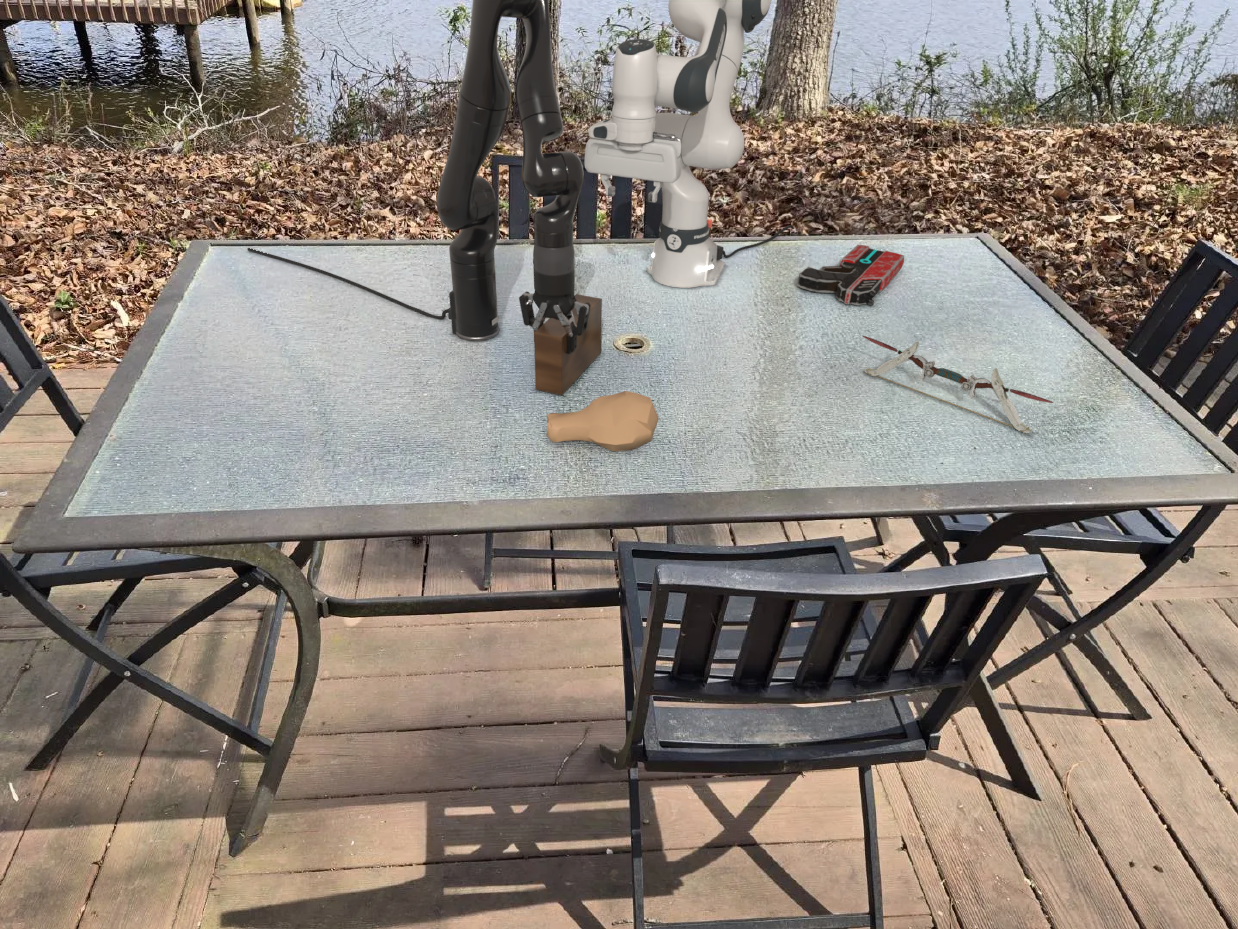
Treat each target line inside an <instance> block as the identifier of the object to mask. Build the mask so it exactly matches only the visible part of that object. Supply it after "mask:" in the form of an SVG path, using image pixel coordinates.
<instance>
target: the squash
mask: <svg viewBox="0 0 1238 929" xmlns="http://www.w3.org/2000/svg"><path fill="white" fill-rule="evenodd" d="M546 416H547V417H546V419H547V429H546V434H545V435H546V436H547V438H548V439H549V441H550V442H551V443H561V442H568V441H584V442H588V443H589V442H590V443H594V444H596V445H598V446H599V447H601V448H604V449H607V450H609V451H611V452H627V451H633V450H636V449H638V448H640V447H642V446H644V445H647V444H648V443H650V442H652V441H653V438H654V437H653V436H654V435H655V434H654V433H655V432H656V428H657V426H658V422H659V420H660V418H659V416H658V413H657V410H656V408H655V405H654V402H653V401H652V399H651V397H649V396H646V395H643V394H641V393H637V392H635V391H629V390H624V391H621V392H618V393H614V394H609V395H608V394H607V395H603V396H602V395H601V396H598V397H597V398H595V399H594V400H592V401H591V402H590V403H589V404H588V406H586V407H584V408H582V409H581V410H579V411H573V412H564V413H560V412H551V413H548V414H547V415H546Z"/></svg>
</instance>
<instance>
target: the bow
mask: <svg viewBox="0 0 1238 929" xmlns="http://www.w3.org/2000/svg"><path fill="white" fill-rule="evenodd" d="M861 336H862V338H864V339H866V340H867V341H869V342H871V343H873V344H876V345H877V346H880V347H882V348H883V349H886V350H890V351H892V352H895V353H897V354H898V355H897V357H893V358H891V359H890V360H887V361H885V362H884V363H882V364H881V365H880V366H878V367H877V368H869V367H868V368H866V369H864V371H863V372H864V373H865V374H867V375H869V376H872V377H878V378H881V379H883V380H885V381H888V382H891V383H894V384H897V385H899V386H902V387H904V388H907V389H909V390H913V391H915V392H918V393H920V394H923V395H925V396H929V397H931V398H934V399H936V400H939V401H942V402H945V403H947V404H950V405H952V406H955V407H957V408H961V409H964V410H966V411H968V412H971V413H974V414H976V415H979V416H982V417H984V418H987V419H990V420H992V421H995V422H998V423H1001V424H1003V425H1006V426H1008V427H1011V428H1014V429H1015V430H1017V431H1018V432H1020V433H1024V434H1030V433H1031V432H1032V431H1033V429H1032V428H1030V427H1029V426H1027V424H1024V423H1023V422H1022V421H1021V418H1020V415H1019V412H1018V410H1017V409H1016V406H1015V405H1014V403H1013V402H1012V400H1011V399H1010V398H1009V396H1008V394H1007V393H1008V392H1010V393H1012V394H1015V395H1018V396H1020V397H1023V398H1025V399H1026V398H1027V399H1031V400H1034V401H1038V402H1042V403H1043V402H1044V403H1050V404H1054V401H1052V400H1049V399H1046V398H1044V397H1041V396H1038V395H1035V394H1032V393H1028V392H1025V391H1021V390H1017V389H1015V388H1014V389H1013V388H1009V387H1005V384H1004V381H1003V379H1002V378H1001V376H1000V374H999V370H998V369H999V368H997V367H995V368H994V369H993V370H992V372H991V377H990V380H989V379H988V378H985V377H977V376H975V375H974V374H971V375H970V376H969V377H967V378H966V377H964V375H963V374H961V373H959V372H956V371H953V370H950V369H948V368H944V367H936V366H935V365H936V361H935V360H933V361H931V360H930V361H928V360H927V358H925V357H924V356H922V355H920V354H916V352H917V351H918V348H919V343H920V342H919V341H916V342H914V343H913V344H912V345H911V346H910V347H908V348H906V349H904V350H903V351H902V350H900V349H897V348H896V347H895V346H891V345H890V344H887V343H885V342H882V341H880V340H877V339H874V338H872V337H869V336H866V335H861ZM915 354H916V355H915ZM908 361H912V362H913V363H914V364H915V365H916V366H917V367H918V368H920V369H921V373H920V374H919V377H918V379H917V380H918V381H921V382H923V381H924V380H925V379H926V378H929V379H932V378H933V377H934V376H935V375H936V376H939V377H941V378H943V379H947V380H948V381H952V382H956V383H957V384H961V389H962V390H963V391H965V392H969V393H968V395H969V396H968V399H971V400H974V399H976V397H977V396H976V395H977V391H976V390H977V389H991V390H992V391H993V393H994V394H995V396H996V398H997V400H998V401H999V402H1000V405H1001V407H1002V409H1003V411H1004V413H1005V415H1006V417H1007V419H1008V420H1009V422H1010V424H1009V423H1007V422H1004V421H1000V420H997V419H995V418H992V417H990V416H988V415H985V414H982V413H979V412H976V411H974V410H972V409H969V408H966V407H963V406H960V405H958V404H955V403H952V402H950V401H947V400H944V399H941V398H939V397H937V396H933V395H931V394H928V393H926V392H923V391H920V390H917V389H916V388H912V387H909V386H907V385H904V384H901V383H899V382H897V381H893V380H891V379H888V378H886V377H883V376H880V375H882V374H886V373H888V372H890V371H891V370H893V369H894V368H896V367H898V366H900V365H902V364H905V363H906V362H908ZM1011 424H1012V425H1011Z"/></svg>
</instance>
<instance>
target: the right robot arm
mask: <svg viewBox="0 0 1238 929" xmlns="http://www.w3.org/2000/svg"><path fill="white" fill-rule="evenodd" d="M771 4H772V0H668V6H667V7H668V16H669V18H670V21H671V23H672V25H673V27H674V28H675V29H676V30H677V32H678V33H679V34H681V35H682V36H683V37H685V38H687V39H690V40H693V41H695V42H697V43H698V46H697V48H696V50H695V53H694V55H693V56H676V55H668V54H663V53H658V52H657V49H656V48H657V47H656V44H655V43H654V42H653V41H651V40H649V39H644V38H633V39H627V40H625V41H623V42H620V43H619V44H618V45H617V47H616V50H615V56H614V62H613V68H612V83H611V84H612V86H611V87H612V88H611V92H612V96H613V106H612V109H611V118H608V119H604V120H601V121H598V122H596V123H594V124H592V125H591V126H589V128H588V136H589V139H588V140H587V141H586V144H585V150H584V159H583V160H584V162H583V164H584V166H583V167H584V168H585V170H586V172H587V173H591V174H599V175H600V180H601V182H602V184H603V186H604V188H605V196H606V197H614V196H615V195H616V186H614V185H612V183H611V180H610V178H611V177H612V176H613V177H620V178H628V179H634V180H635V179H636V180H643V181H644V180H645V181H649V182H650V181H651V182H653V187H655V188H654V189H653V191H650V192H648V194H647V202H648V203H653V204H654V203H657V201H658V193H659V191H660V190H661V197H662V208H661V210H662V212H661V214H662V215H661V220H660V223H659V227H658V228H659V229H658V231H659V234H658V235H659V237H658V238H657V239H656V240H655V241H654V243H653V249H652V253H651V259H652V260H651V265H649V266H646V272H647V273H648V274H649V275H651V277H652V279H653V280H654V281H655V282H657V283H659V284H661V285H663V286H666V287H667V286H668V287H672V288H679V289H680V288H682V289H688V288H690V289H691V288H697V287H703V286H706V287H707V286H709V287H710V286H711V287H712V286H716V285H717V283H718V281H719V279H720V277H721V275H722V273H723V271H724V269H725V267H726V262H725V261H723V260H722V259H723V257H724V259H729V258H731V257H733V256H734V255H735V254H736V253H738V252H741V251H743V250H748V249H751V248H756V247H758V246H761V245H763V244H767V243H768V242H771V241H772V240H774V239H775V238H777V237H778V236H779V235H780V234H782V233H783V232H785V231H786V230H788V229H791V230H795V226H793V225H791V224H789V225H787V226H784V227H783V228H781V229H780V230H778V231H777V232H776V233H775V234H773V235H772V236H771V237H768V238H767V239H764V240H762V241H759V242H757V243H753V244H749V245H745V246H741V247H739V248H736V249H735V250H734V251H732V252H731V253H729V254H727V253H726V251H725V250H724V247H723V246H721V245H718V244H716V242H714V240H712V238H710V229H711V228H712V227H713V224H714V223H713V219H708V216H709V203H710V194H709V191H708V189H707V187H706V185H705V184H704V183H703V182H701V181H700V180H699V179H698V178H696V177H695V175H694V174H693V172H692V171H691V167H694V168H701V169H707V170H726V169H732V168H733V167H734V166H736V165H737V164H738V163H739V161H740V160H741V158H742V156H743V154H744V150H745V135H744V132H743V131H742V129H741V127H740V126H739V125H738V124H737V123H736V121H735V120H734V118H733V116H732V113H731V110H730V104H731V97H732V93H733V89H734V87H735V83H736V79H737V77H738V74H739V70H740V68H741V64H742V59H743V56H744V54H743V53H744V49H745V48H744V47H745V33H746V34H749V33H751V32H753V31H754V30H755V28H756V26H758V25H759V24H761V22H762V21H763V20H764V19H765V18H766V16H767V15H768V13H769V11H770V7H771ZM656 107H661V108H669V109H677V110H680V111H684V112H688V113H693V114H695V115H689V114H682V113H675V112H657V111H656Z"/></svg>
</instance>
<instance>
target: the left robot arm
mask: <svg viewBox="0 0 1238 929" xmlns="http://www.w3.org/2000/svg"><path fill="white" fill-rule="evenodd" d="M549 3H550V2H549V0H472V5H471V17H470V29H469V39H468V45H467V46H468V47H467V52H466V57H465V64H464V69H463V75H462V80H461V84H460V89H459V95H458V100H457V106H456V114H455V121H454V125H453V131H452V136H451V141H450V146H449V150H448V154H447V159H446V162H445V166H444V169H443V173H442V176H441V179H440V182H439V186H438V190H437V193H436V194H437V195H436V196H437V197H436V210H437V215H438V217H439V220H440V222H441V223H442V224H443V226H444V227H445V228H447V229H449V230H452V231H460V232H459V233H458V235H457V236H456V237H455V238H454V239H453V240H452V241H451V242H450V244H449V247H448V250H449V263H450V264H449V265H450V275H451V276H450V277H451V286H452V290H451V291H450V292H448V297H449V308H446V309H444V310H443V311H442V313H441V315H435V314H432V313H429V312H427V311H424V310H422V309H420V308H417V307H415V306H412V305H409V304H407V303H405V302H402V301H400V300H398V299H396V298H394V297H392V296H389V295H386V294H384V293H382V292H380V291H377V290H374V289H372V288H370V287H367V286H365V285H363V284H361V283H358V282H356V281H353V280H351V279H349V278H346V277H342V276H340V275H337V274H335V273H331V272H329V271H326V270H323V269H320V268H317V267H314V266H311V265H308V264H306V263H302V262H299V261H295V260H292V259H288V258H285V257H282V256H279V255H275V254H271V253H268V252H265V253H263V252H264V251H261V250H258V251H256V250H257V249H255V248H251V247H247V251H248V252H250V253H253V254H257V255H260V256H264V257H267V258H271V259H274V260H278V261H280V262H285V263H287V264H291V265H295V266H298V267H301V268H305V269H307V270H310V271H314V272H316V273H319V274H322V275H325V276H327V277H330V278H333V279H335V280H336V279H337V281H341V282H344V283H347V284H349V285H352V286H353V287H356V288H359V289H362V290H363V291H366V292H369V293H371V294H374V295H376V296H378V297H381V298H382V299H384V300H387V301H389V302H392V303H394V304H395V305H396V304H397V305H399V306H400V307H403V308H406V309H408V310H410V311H412V312H415V313H418V314H420V315H423V316H425V317H427V318H431V319H435V320H439V321H440V320H445V318H446V315H447V314H448V315H447V316H448V320H451V321H450V322H451V332H452V334H453V335H456V336H457V337H458V338H460V339H462V340H464V341H470V342H479V341H481V342H482V341H486V340H487V341H488V340H491V339H493V338H494V337H495V338H496V337H497V335H499V333H500V327H499V321H500V320H499V312H498V311H499V310H498V296H497V295H498V294H497V293H498V292H497V276H496V275H497V274H496V261H495V259H496V258H495V250H496V249H495V248H496V247H497V243H498V203H497V202H498V201H497V198H496V194H495V190H494V188H493V186H492V185H491V183H490V182H489V181H488V180H487V179H486V178H484V177H483V176H480V175H478V174H479V171H480V169H481V167H482V166H483V164H484V162H485V161H486V159H487V158H488V157H489V155H490V153H491V152H492V150H493V149H494V147H495V146H496V144H497V143H498V142H499V139H500V138H501V136H502V134H503V132H504V129H505V127H506V124H507V119H508V115H509V110H510V105H511V101H512V87H511V83H510V80H509V78H508V75H507V71H506V69H505V67H504V64H503V62H502V58H501V56H500V53H499V48H498V35H499V28H500V22H501V19H502V18H513V19H514V18H515V19H522V22H523V25H524V29H525V34H526V45H525V51H524V55H523V58H522V61H521V64H520V67H519V71H518V73H517V76H516V81H515V82H516V83H515V101H516V106H517V111H518V115H519V121H520V124H521V130H522V162H521V163H522V164H521V181H522V184H523V187H524V189H525V191H526V192H527V193H528V194H529V195H530V196H531V197H533V198H547V197H554V196H555V199H554V200H553V201H552V202H551V203H549V204H547V205H544V206H542V207H539V208H538V209H537V210H536V211H535V212H534V214H533V249H532V250H533V251H532V267H533V289H534V292H533V293H530V292H529V291H525V292H524V293H522V294H521V295H520V296H519V297H518V300H519V301H518V302H519V306H520V312H521V316H522V322H523V325H524V326H526V327H528V326H529V327H531V328H532V330H533V333H534V332H535V331H536V330H537V329H538V328H539V327H541V326H542V325H543V324H544V323H545V322H546V319H549V318H554V319H556V320H560V323H561V325H562V326H563V327H564V328H565V331H566V333H567V335H568V336H567V354H571V353H572V352H573V351H574V350H575V349H576V347H577V335H578V336H580V335H582V334H583V333H584V332H585V331H586V329H587V324H588V318H589V313H590V307H591V305H590V303H588V302H586V303H585V304H583V303H580V302H577V300H576V298H575V287H576V285H575V284H576V282H575V281H576V278H575V276H576V273H575V272H576V271H575V268H576V267H575V266H576V265H575V264H576V263H575V262H576V256H575V255H576V254H575V245H574V219H575V214H576V210H577V206H578V201H579V198H580V195H581V191H582V188H583V183H584V177H585V176H584V175H585V174H584V172H585V171H584V166H583V163H582V161H581V158H580V157H579V155H578V154H576V153H575V152H573V151H568V150H567V151H566V150H565V151H556V152H555V151H554V152H544V153H542V145H543V144H546V143H549V142H552V141H554V140H557V139H558V138H560V137H561V136H562V135H563V133H564V122H563V118H562V113H561V112H562V111H561V108H560V102H559V98H558V92H557V89H556V83H555V76H554V69H553V68H554V67H553V55H552V54H553V52H552V35H551V32H552V31H551V19H550V5H549ZM250 248H251V249H250ZM253 249H254V250H253ZM260 251H261V252H260ZM267 253H268V254H267ZM533 304H535V305H536V307H537V309H538V311H537V313H536V315H535V312H534V307H533ZM573 308H575V309H576V312H577V315H579V316H578V322H577V326H576V323H575V321H574V320H575V318H574V315H573V313H572V309H573ZM566 316H567V319H566Z"/></svg>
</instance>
